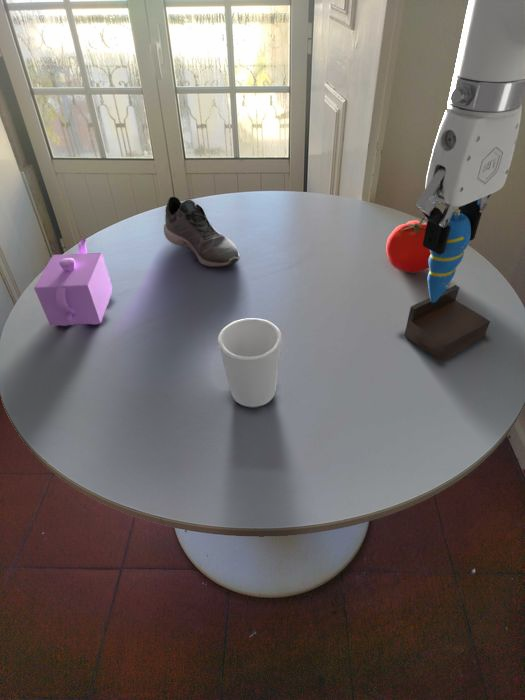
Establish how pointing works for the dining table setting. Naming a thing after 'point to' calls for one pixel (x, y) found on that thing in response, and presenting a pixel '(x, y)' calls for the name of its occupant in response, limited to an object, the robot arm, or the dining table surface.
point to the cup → (251, 360)
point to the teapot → (75, 288)
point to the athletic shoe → (197, 234)
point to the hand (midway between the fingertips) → (448, 241)
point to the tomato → (408, 247)
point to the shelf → (444, 325)
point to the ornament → (448, 255)
